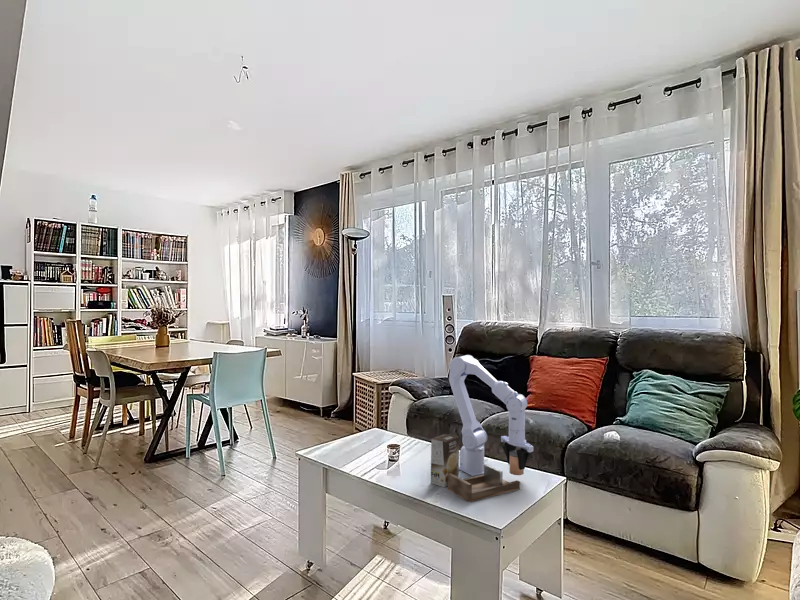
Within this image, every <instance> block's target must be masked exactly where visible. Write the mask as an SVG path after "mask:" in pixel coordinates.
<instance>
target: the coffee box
mask: <svg viewBox="0 0 800 600" xmlns="http://www.w3.org/2000/svg"><path fill="white" fill-rule="evenodd" d="M430 439H431V441H430V442H431V446H430V449H431V450H430V484H432V485H434V486H435V485H436V486H438V487H442V488H446V487H448V474H450V473H451V474H453V475H455V476H457V477H459V474H460V473H459V471H460V469H459V467H460V436H458V435H454V434H448V433H444V434H440V435H438V436H437V435H436V436H435V437H432V438H430ZM459 478H460V477H459Z"/></svg>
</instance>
